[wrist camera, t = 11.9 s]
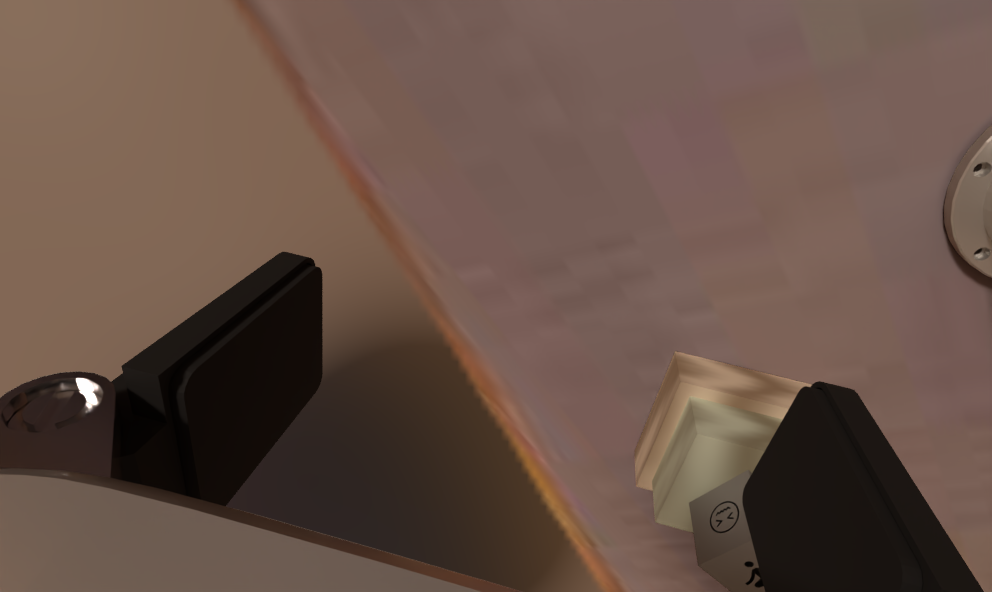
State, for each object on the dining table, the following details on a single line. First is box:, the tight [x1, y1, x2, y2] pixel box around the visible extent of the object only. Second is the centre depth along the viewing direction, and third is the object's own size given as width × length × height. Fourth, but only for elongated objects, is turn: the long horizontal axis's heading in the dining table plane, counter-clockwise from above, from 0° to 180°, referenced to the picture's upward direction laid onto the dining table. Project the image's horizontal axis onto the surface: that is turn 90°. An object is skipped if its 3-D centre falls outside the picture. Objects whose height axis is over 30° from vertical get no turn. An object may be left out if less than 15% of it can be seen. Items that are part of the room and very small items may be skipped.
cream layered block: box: [635, 351, 812, 533], centre depth 40 cm, size 11×11×8 cm
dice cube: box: [689, 470, 765, 592], centre depth 35 cm, size 5×5×5 cm
